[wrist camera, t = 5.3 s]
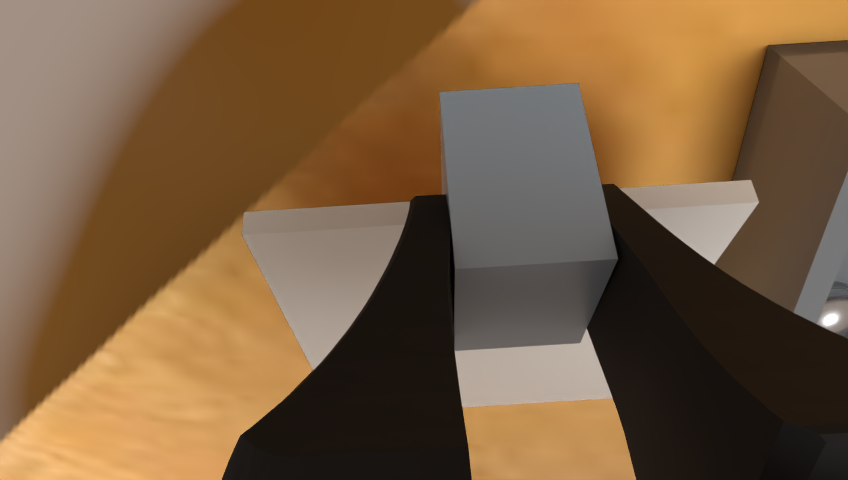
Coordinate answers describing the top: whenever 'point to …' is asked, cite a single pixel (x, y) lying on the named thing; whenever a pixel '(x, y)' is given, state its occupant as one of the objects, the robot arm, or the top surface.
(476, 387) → the white slab
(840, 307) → the chrome dome knob
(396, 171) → the top surface
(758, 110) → the gray open box
